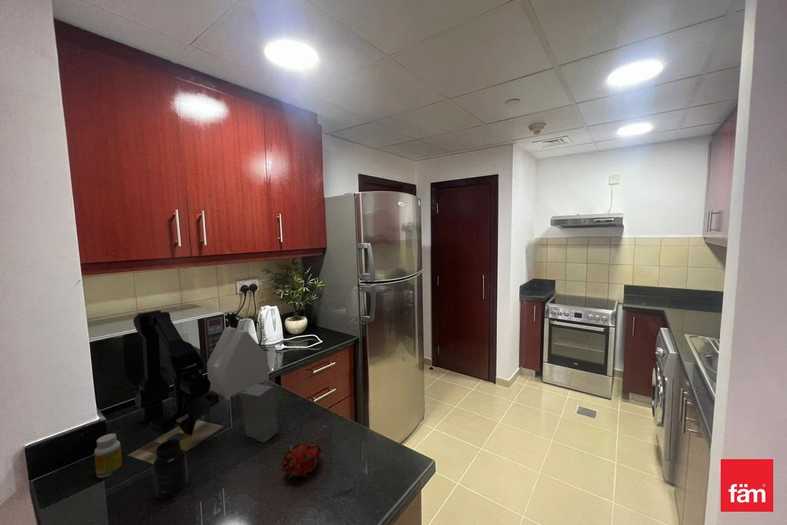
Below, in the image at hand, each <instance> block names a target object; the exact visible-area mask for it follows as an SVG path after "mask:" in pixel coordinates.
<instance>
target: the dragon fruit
mask: <svg viewBox="0 0 787 525" xmlns="http://www.w3.org/2000/svg"><path fill="white" fill-rule="evenodd" d="M321 450H322V449H321V447H320V446H319V444H318V443H312V444H310V443H309V442H307V441H305V442H304V443H302V444H300V443H298V444H297V443H296V444H295V446H294V447H288V448H287V451H286V452H285V453H284V456H283V458H282V463H281V464H282V469H281V470H282V471H283V472H284V473H285V479H290V478H295V479H297V478H298V477H302V478H305V479H307V478H308V477H309V476H308V475H309V474H308V473H310V472H312V471H314V470H315V467H317V464H318V462H319V460H320V459H321V457H320V455H321ZM287 473H288V474H287Z"/></svg>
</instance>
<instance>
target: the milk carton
mask: <svg viewBox="0 0 787 525" xmlns="http://www.w3.org/2000/svg"><path fill="white" fill-rule="evenodd" d="M268 356H269V355H267V353H266V352H265V351H264V350H263V349H262V347H261V346H260V345H259V344H258V342H256V339H254V337H252V335H251V334H250V333H249V331H247V330H242V329H237V328H235V327H231V326H227V327H224V328H223V331H222V333H221V335H220V337H219V339H218V341H217V343H216V345H215V346H214V348H213V351H212V352H211V354H210V357H209V358H208V360H207V362H206V369H207V378H208V379H209V381H210V383H211V385H210V389H209V391H210V390H211V391H213V393H214V392H215V394H218V395H220V396H222V397H223V398H226V399H227V398H229V397H232V396H234V395H237V394H240V393H241V392H242V391H244V390H246V389H248V388H249V387H251V386H253V385H255V384H260V383H261V384H263V383H265V382H264V381H266V382H268V381H270V377H269V375H270V374H269V360H268ZM262 382H263V383H262ZM261 384H260V385H261Z"/></svg>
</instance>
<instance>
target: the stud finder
mask: <svg viewBox="0 0 787 525" xmlns="http://www.w3.org/2000/svg"><path fill="white" fill-rule="evenodd" d="M173 439H177V440H179V441H180V446H181V449H183V450H185V449H186V448H188V447H189V446H191V445H192V436H191V435H188V434H185V433H181V432H177V433H175V434H173V435H172V436H170V437H168V438H166V439H165V440H163V441H161V444H162V443H164V442H166V441H169V440H173Z"/></svg>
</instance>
